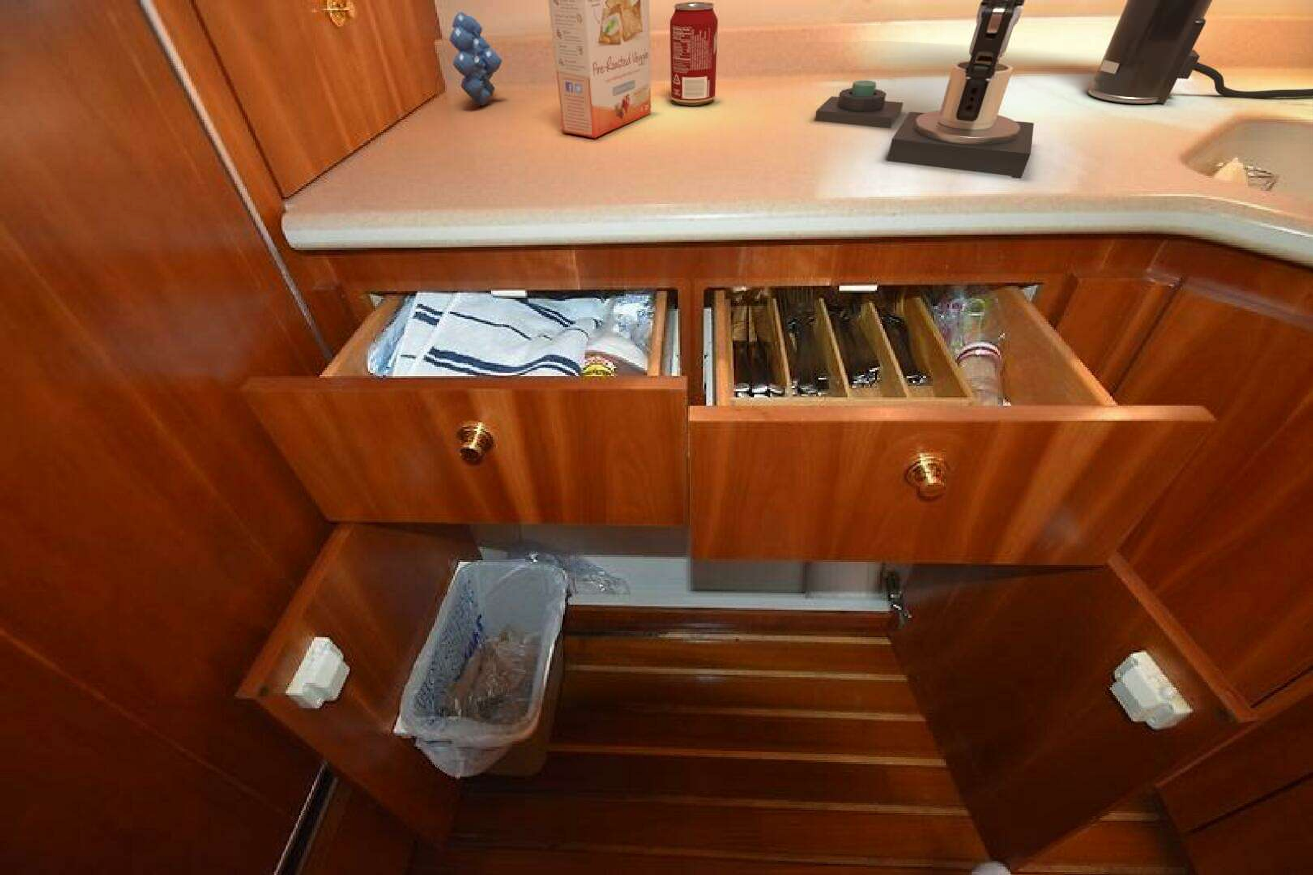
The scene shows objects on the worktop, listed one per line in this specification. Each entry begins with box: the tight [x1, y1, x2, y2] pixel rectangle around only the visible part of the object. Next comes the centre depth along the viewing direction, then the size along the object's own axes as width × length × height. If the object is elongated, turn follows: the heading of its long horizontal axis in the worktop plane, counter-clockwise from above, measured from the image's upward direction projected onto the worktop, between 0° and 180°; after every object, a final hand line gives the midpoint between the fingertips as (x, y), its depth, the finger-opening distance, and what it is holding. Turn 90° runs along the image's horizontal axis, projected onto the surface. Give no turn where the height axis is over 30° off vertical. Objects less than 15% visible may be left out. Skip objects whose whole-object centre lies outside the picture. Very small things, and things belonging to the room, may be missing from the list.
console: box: [814, 87, 904, 129], centre depth 80 cm, size 10×8×3 cm
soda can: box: [669, 1, 719, 107], centre depth 85 cm, size 7×7×12 cm
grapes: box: [449, 11, 503, 107], centre depth 87 cm, size 12×7×12 cm, turn 177°
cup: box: [938, 60, 1014, 130], centre depth 65 cm, size 6×6×6 cm
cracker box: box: [548, 0, 652, 139], centre depth 75 cm, size 14×6×21 cm, turn 148°
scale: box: [886, 110, 1035, 179], centre depth 68 cm, size 14×12×3 cm
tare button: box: [851, 80, 877, 97], centre depth 78 cm, size 3×3×2 cm
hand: (969, 111), depth 66 cm, fingers closed on cup, 6 cm apart
